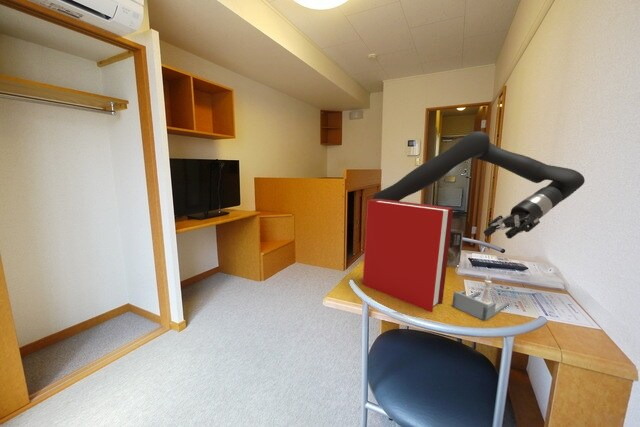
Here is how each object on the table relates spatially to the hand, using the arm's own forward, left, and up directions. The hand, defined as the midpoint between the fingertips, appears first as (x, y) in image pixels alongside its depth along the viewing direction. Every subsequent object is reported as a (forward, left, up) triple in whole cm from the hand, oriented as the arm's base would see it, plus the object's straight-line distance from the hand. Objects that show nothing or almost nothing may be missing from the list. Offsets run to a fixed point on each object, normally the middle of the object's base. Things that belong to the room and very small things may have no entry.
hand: (495, 235), depth 87 cm
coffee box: (-28, +24, -23) cm, 43 cm away
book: (-20, -21, -23) cm, 37 cm away
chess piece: (0, -2, -23) cm, 23 cm away
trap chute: (0, -5, -23) cm, 24 cm away
